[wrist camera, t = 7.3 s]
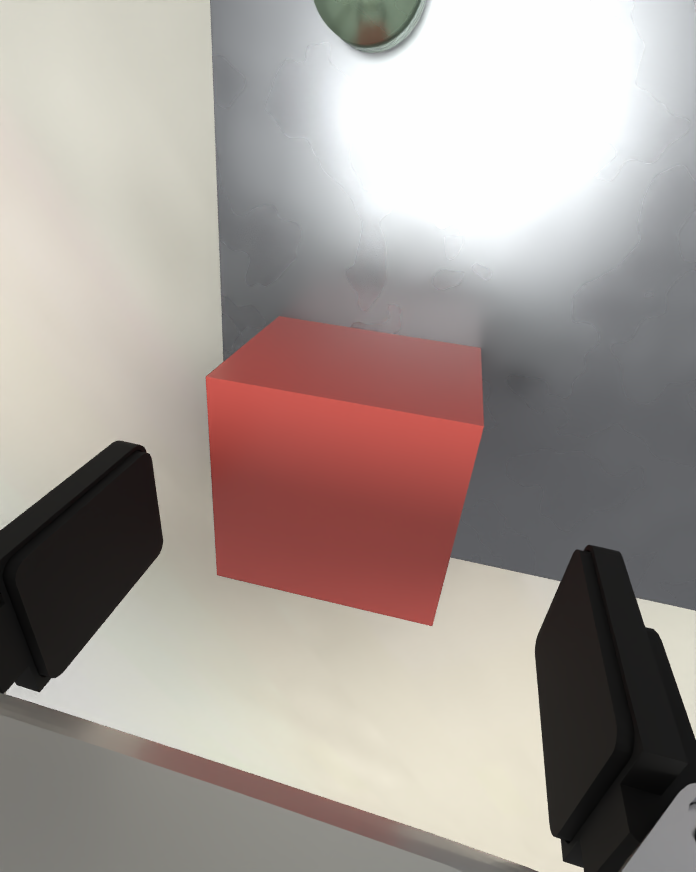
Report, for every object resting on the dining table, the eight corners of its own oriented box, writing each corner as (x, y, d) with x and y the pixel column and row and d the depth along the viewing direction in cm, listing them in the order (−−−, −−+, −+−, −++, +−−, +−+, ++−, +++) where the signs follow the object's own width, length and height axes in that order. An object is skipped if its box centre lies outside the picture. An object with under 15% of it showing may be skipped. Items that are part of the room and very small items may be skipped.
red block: (442, 513, 18) (432, 626, 14) (275, 479, 19) (217, 575, 14) (480, 347, 15) (483, 426, 10) (278, 316, 16) (205, 376, 11)
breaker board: (797, 578, 19) (870, 674, 16) (256, 468, 22) (215, 528, 19) (1374, -192, 9) (1934, -408, 6) (255, -200, 12) (167, -342, 9)
